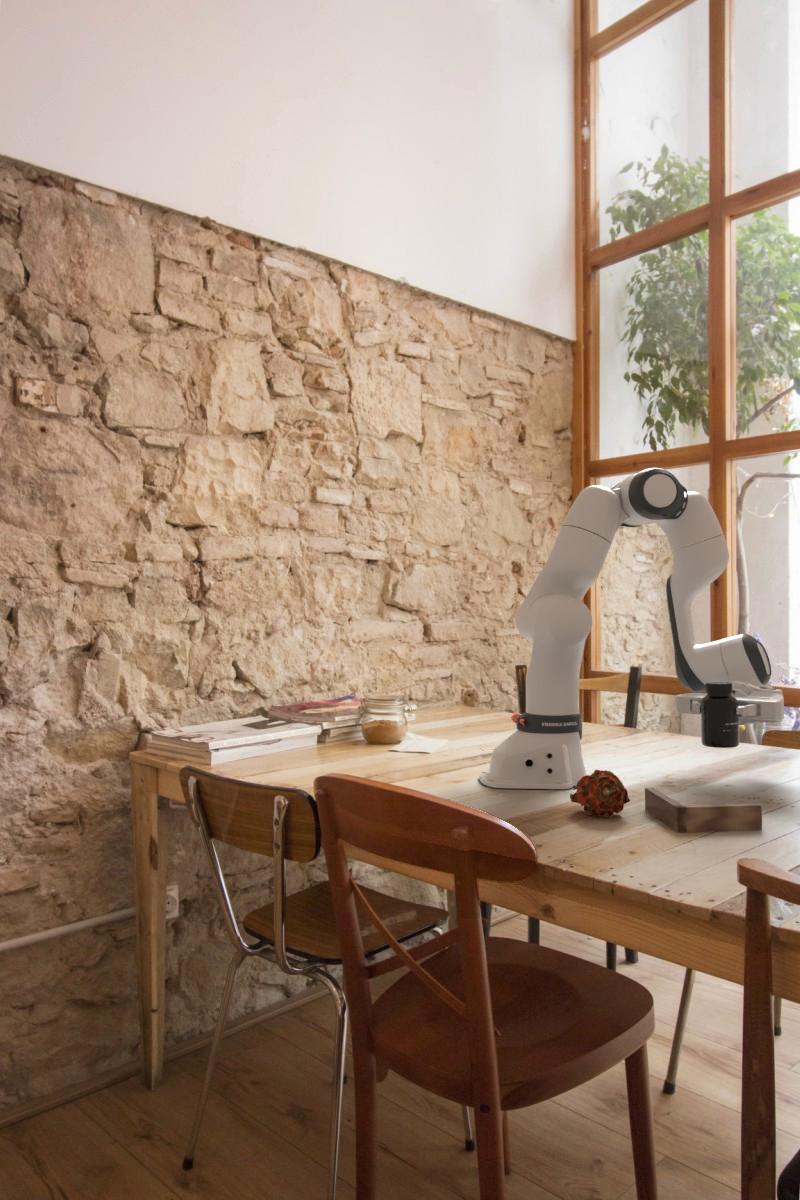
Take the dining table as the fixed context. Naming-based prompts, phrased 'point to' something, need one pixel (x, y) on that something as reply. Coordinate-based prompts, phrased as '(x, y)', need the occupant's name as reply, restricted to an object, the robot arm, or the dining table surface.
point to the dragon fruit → (600, 794)
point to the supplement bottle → (719, 716)
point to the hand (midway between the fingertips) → (717, 710)
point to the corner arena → (703, 814)
